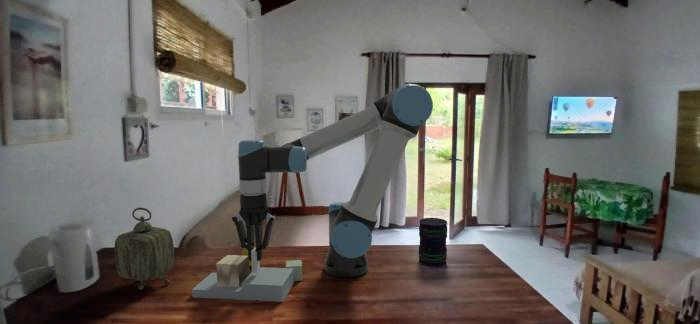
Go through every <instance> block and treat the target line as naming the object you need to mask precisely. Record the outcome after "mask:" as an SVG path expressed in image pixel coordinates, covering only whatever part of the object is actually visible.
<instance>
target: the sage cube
mask: <svg viewBox="0 0 700 324" xmlns="http://www.w3.org/2000/svg"><path fill="white" fill-rule="evenodd" d="M302 264H303V262H302V259H300V260H299V259H298V260H297V259H296V260H295V259H294V260H286V261H285V268H292V269H294V282H299V281H300V282H301V281H303V265H302Z"/></svg>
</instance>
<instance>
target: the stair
mask: <svg viewBox="0 0 700 324" xmlns="http://www.w3.org/2000/svg"><path fill="white" fill-rule="evenodd" d="M294 284H295V281H294V269H292V268H286V267H266V266H265V267H264V266H262V267H261V266H260V269H259V271H258V272H257V273H255V272H252V271H251V272H250V275H249V276H248V277H247V278H246V279H245V280H244V281H243V282H242V284H241V287H240V288H237V287H220V286H217V272H210V274H208V276H206V277H205V278H204V279H203V280H202V281H200V282H198V284H197V285H195V286H194V287H193V288H192V289H191V294H192V295H191V296H192V298H196V299H203V298H204V299H220V300H221V299H222V300H237V301H238V300H239V301H240V300H241V301H256V300H258V301H259V302H277V303H278V302H279V303H281V302H282V303H283V302H284V300H285V299H286V297H287V295H288V294H289V292H290V291H291V289H292V287H293V285H294ZM258 301H257V302H258Z"/></svg>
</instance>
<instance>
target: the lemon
mask: <svg viewBox="0 0 700 324" xmlns="http://www.w3.org/2000/svg"><path fill="white" fill-rule="evenodd" d="M254 248H256V246H255V247H254ZM241 256H248V250H247V249H246V248H242V251H241ZM249 267H252V261H250V260H249Z"/></svg>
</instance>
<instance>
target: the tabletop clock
mask: <svg viewBox="0 0 700 324" xmlns="http://www.w3.org/2000/svg"><path fill="white" fill-rule="evenodd" d="M133 209H134V210H132V214H131V215H132V217H133V218H134V220H136V221H138V222H137V223H135V225H134V226H133V229H132V230H130V231H128V232H123V233H121V234H119V235H118V236H117V238H115V241H114V260H115V267H116V272H117V275H118V276H119V277H121V278H124V279H129V280H136V281H137V282H140V284H138V287H137V288H138V289H137V290H140V291H142V290H144V288H145V286H144V281H153V280H156V279H157V278H158V277H159V278H160V279H161V280H162V281H163V282H164V285H165V286H168V285H170V282H171V281H170V280H169V279H166V278H165V276H164V275H165V274H166V273H168V272H170V271H172V270H173V269H174V265H175V247H174V239H173V236H172V233H171V230H168V229H166V228H163V227H159V226H158V227H156V226H153V225H152V224H151V223H150V222H148V221H151V220H152V213H151V211H150V210H149V209H148V208H145V207H136V208H133ZM136 211H145V212H147V213H148V215H149V217H148V218H145V217H144V216H140V217H136V216H135V212H136Z"/></svg>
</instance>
